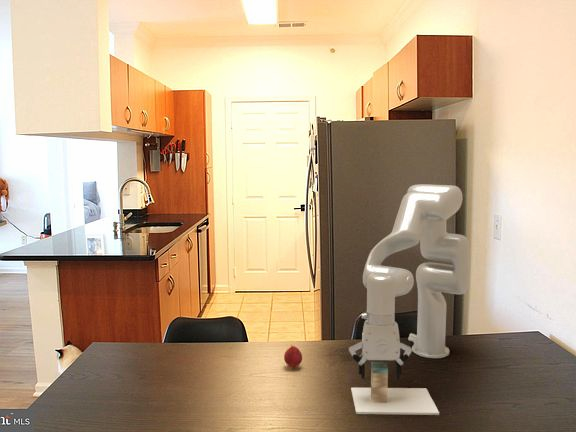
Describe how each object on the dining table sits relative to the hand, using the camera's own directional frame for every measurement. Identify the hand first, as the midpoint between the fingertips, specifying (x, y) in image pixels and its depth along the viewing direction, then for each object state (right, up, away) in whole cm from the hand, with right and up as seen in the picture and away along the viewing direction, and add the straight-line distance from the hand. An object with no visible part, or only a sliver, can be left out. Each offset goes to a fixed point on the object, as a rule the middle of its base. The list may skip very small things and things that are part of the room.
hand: (379, 376), depth 140 cm
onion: (-24, -5, +22) cm, 33 cm away
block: (0, -6, 0) cm, 6 cm away
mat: (+4, -7, 0) cm, 8 cm away
